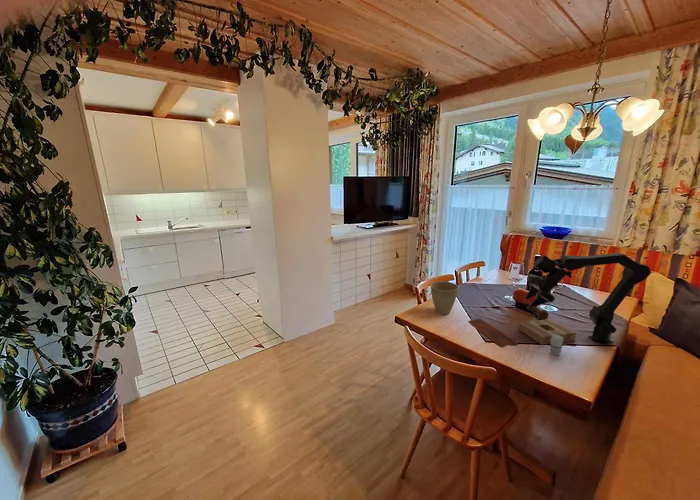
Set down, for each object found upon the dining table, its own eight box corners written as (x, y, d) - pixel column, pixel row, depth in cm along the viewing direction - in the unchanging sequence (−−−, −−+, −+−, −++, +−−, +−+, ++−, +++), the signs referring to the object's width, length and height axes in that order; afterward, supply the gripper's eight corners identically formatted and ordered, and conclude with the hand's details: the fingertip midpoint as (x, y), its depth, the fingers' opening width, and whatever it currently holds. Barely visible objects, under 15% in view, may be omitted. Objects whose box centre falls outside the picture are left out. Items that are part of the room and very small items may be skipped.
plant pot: (434, 304, 175) (435, 279, 171) (459, 310, 167) (461, 284, 163) (425, 313, 163) (426, 287, 159) (451, 320, 155) (454, 292, 151)
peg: (554, 350, 127) (557, 334, 125) (562, 355, 123) (566, 339, 121) (546, 351, 126) (549, 335, 124) (554, 356, 122) (557, 340, 120)
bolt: (527, 310, 169) (544, 322, 155) (520, 307, 169) (536, 318, 154) (533, 302, 168) (550, 313, 154) (526, 298, 168) (543, 309, 153)
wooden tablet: (519, 346, 132) (520, 342, 131) (501, 349, 129) (501, 345, 129) (481, 319, 157) (481, 316, 156) (465, 321, 155) (465, 318, 154)
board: (549, 326, 148) (550, 319, 147) (574, 340, 134) (576, 332, 133) (518, 329, 145) (519, 322, 144) (541, 344, 131) (542, 336, 130)
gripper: (532, 263, 145) (510, 286, 150) (543, 274, 127) (518, 300, 133) (552, 276, 143) (529, 299, 149) (566, 289, 126) (539, 314, 132)
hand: (528, 302), depth 141 cm, fingers open, 9 cm apart
